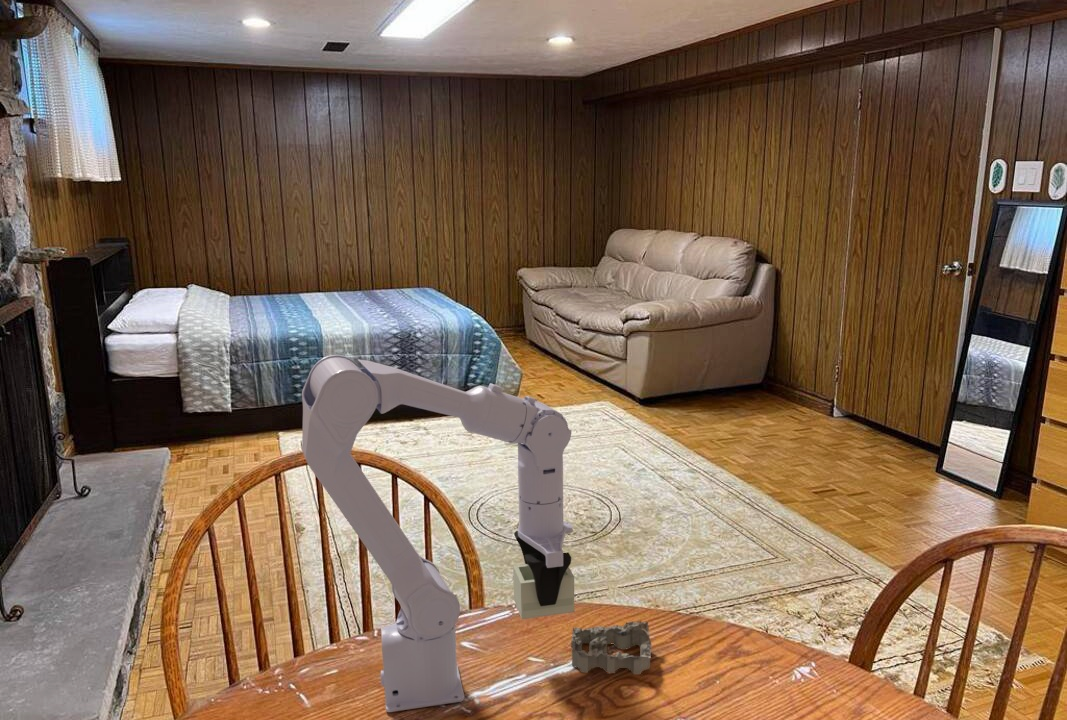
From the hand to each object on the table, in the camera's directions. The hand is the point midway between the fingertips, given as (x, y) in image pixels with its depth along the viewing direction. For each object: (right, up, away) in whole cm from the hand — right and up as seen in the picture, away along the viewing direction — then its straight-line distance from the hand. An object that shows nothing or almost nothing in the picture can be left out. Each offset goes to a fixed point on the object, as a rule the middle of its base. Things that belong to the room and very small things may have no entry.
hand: (542, 593), depth 104 cm
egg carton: (+9, -10, +2) cm, 13 cm away
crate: (0, -2, 0) cm, 2 cm away
